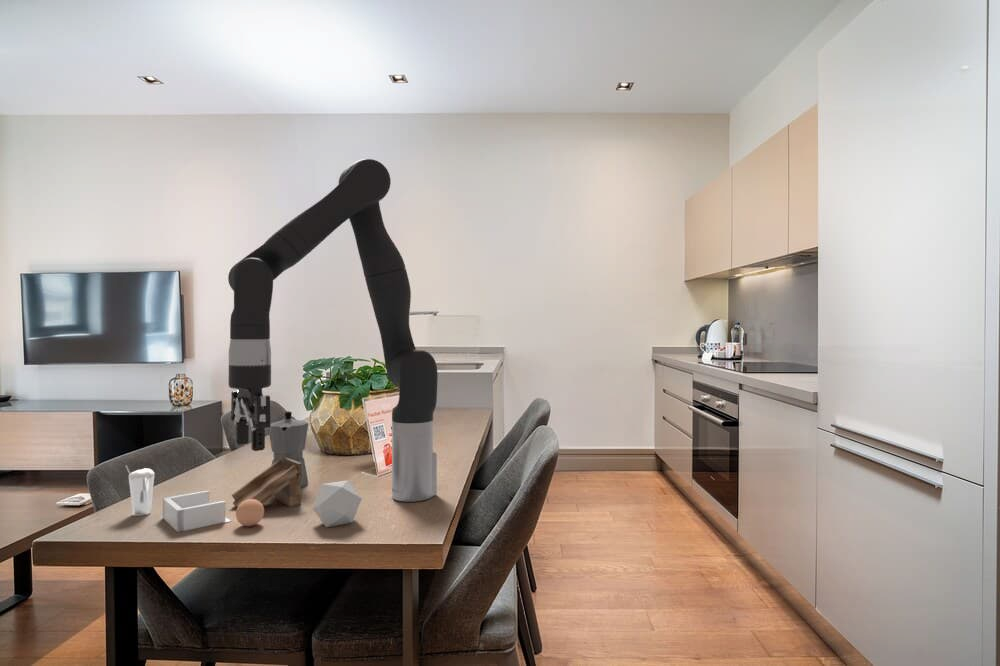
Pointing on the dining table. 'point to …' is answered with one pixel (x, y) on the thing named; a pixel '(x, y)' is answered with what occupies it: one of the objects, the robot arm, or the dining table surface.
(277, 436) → the coffeepot
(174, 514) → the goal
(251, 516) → the ball
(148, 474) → the milkshake
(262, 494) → the ramp
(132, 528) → the dining table surface
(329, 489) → the die
